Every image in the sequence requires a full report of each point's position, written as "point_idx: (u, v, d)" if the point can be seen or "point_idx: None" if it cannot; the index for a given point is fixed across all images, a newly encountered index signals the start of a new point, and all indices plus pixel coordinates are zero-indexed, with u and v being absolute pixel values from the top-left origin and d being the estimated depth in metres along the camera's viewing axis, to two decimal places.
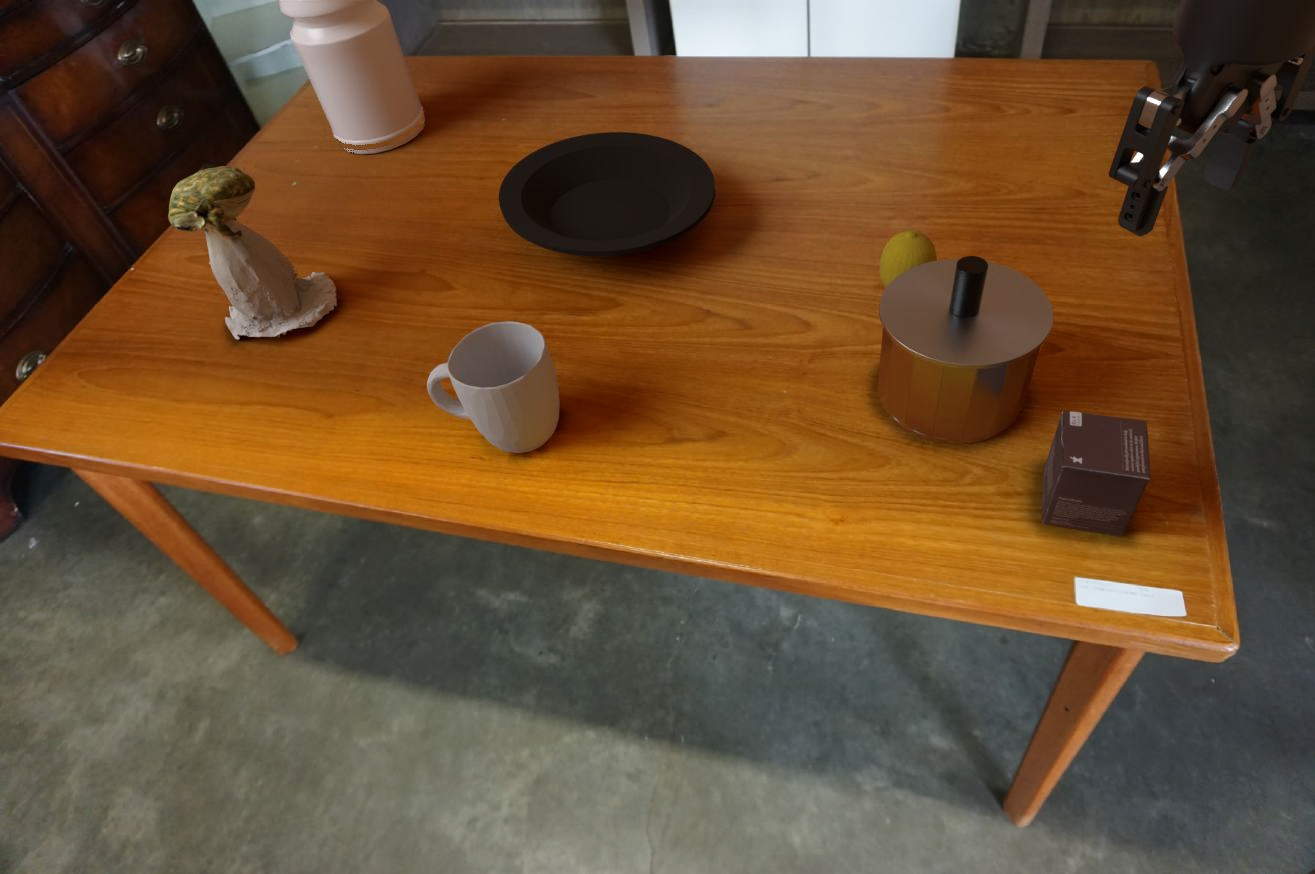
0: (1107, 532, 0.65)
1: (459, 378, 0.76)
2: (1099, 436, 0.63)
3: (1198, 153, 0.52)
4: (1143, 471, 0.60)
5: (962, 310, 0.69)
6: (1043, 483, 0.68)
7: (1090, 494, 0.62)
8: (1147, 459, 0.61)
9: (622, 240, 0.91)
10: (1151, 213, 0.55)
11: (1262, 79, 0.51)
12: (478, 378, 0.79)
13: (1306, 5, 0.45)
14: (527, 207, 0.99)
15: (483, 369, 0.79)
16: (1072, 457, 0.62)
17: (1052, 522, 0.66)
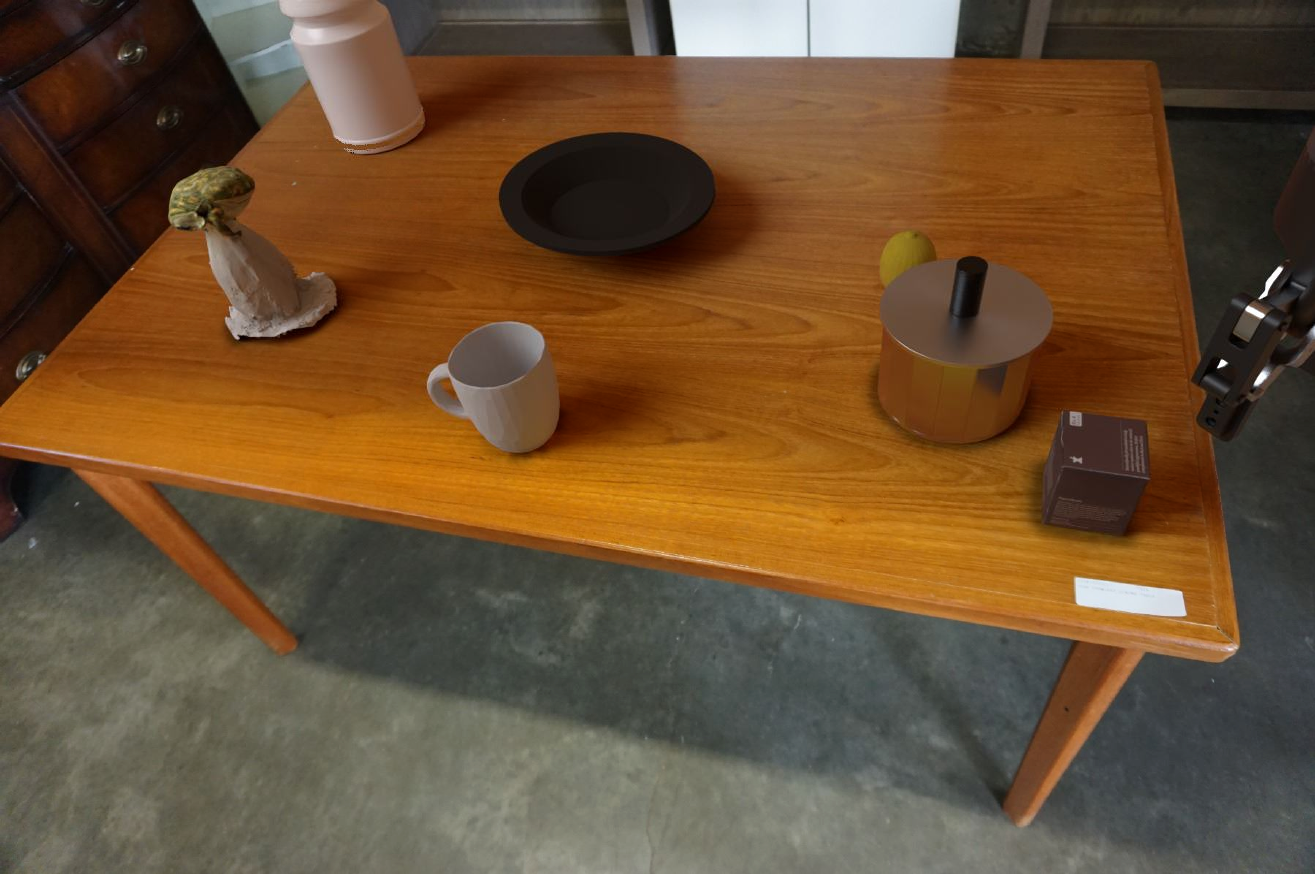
0: (1107, 532, 0.65)
1: (459, 378, 0.76)
2: (1098, 436, 0.63)
3: (1301, 362, 0.43)
4: (1143, 471, 0.60)
5: (962, 310, 0.69)
6: (1043, 483, 0.68)
7: (1090, 494, 0.62)
8: (1147, 459, 0.61)
9: (622, 240, 0.91)
10: (1239, 421, 0.46)
11: None
12: (478, 378, 0.79)
13: None
14: (527, 207, 0.99)
15: (483, 369, 0.79)
16: (1071, 457, 0.62)
17: (1052, 522, 0.66)
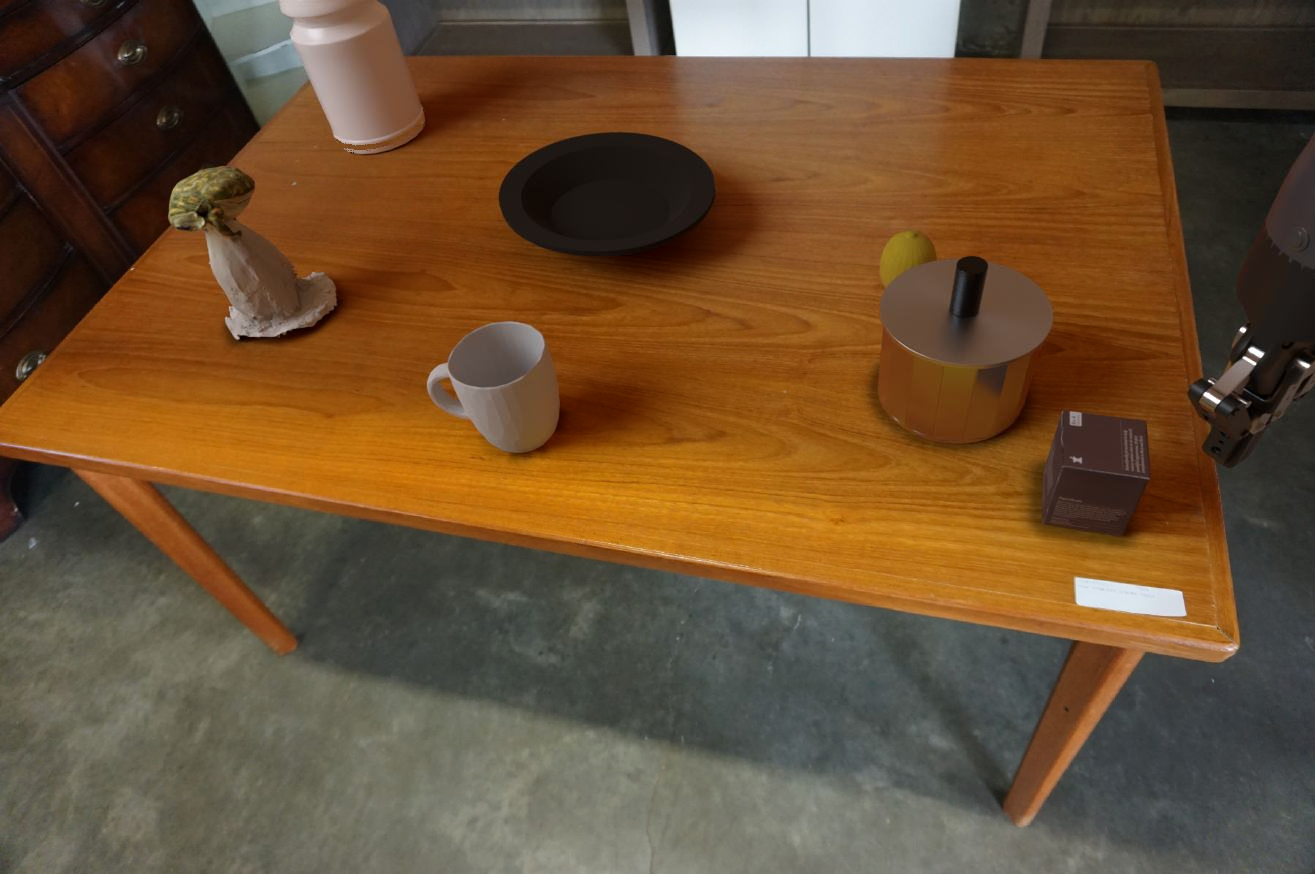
0: (1107, 532, 0.65)
1: (459, 378, 0.76)
2: (1098, 436, 0.63)
3: (1287, 403, 0.48)
4: (1143, 471, 0.60)
5: (962, 310, 0.69)
6: (1043, 483, 0.68)
7: (1090, 494, 0.62)
8: (1147, 459, 0.61)
9: (622, 240, 0.91)
10: (1242, 450, 0.52)
11: None
12: (478, 378, 0.79)
13: None
14: (527, 207, 0.99)
15: (483, 369, 0.79)
16: (1071, 457, 0.62)
17: (1052, 522, 0.66)
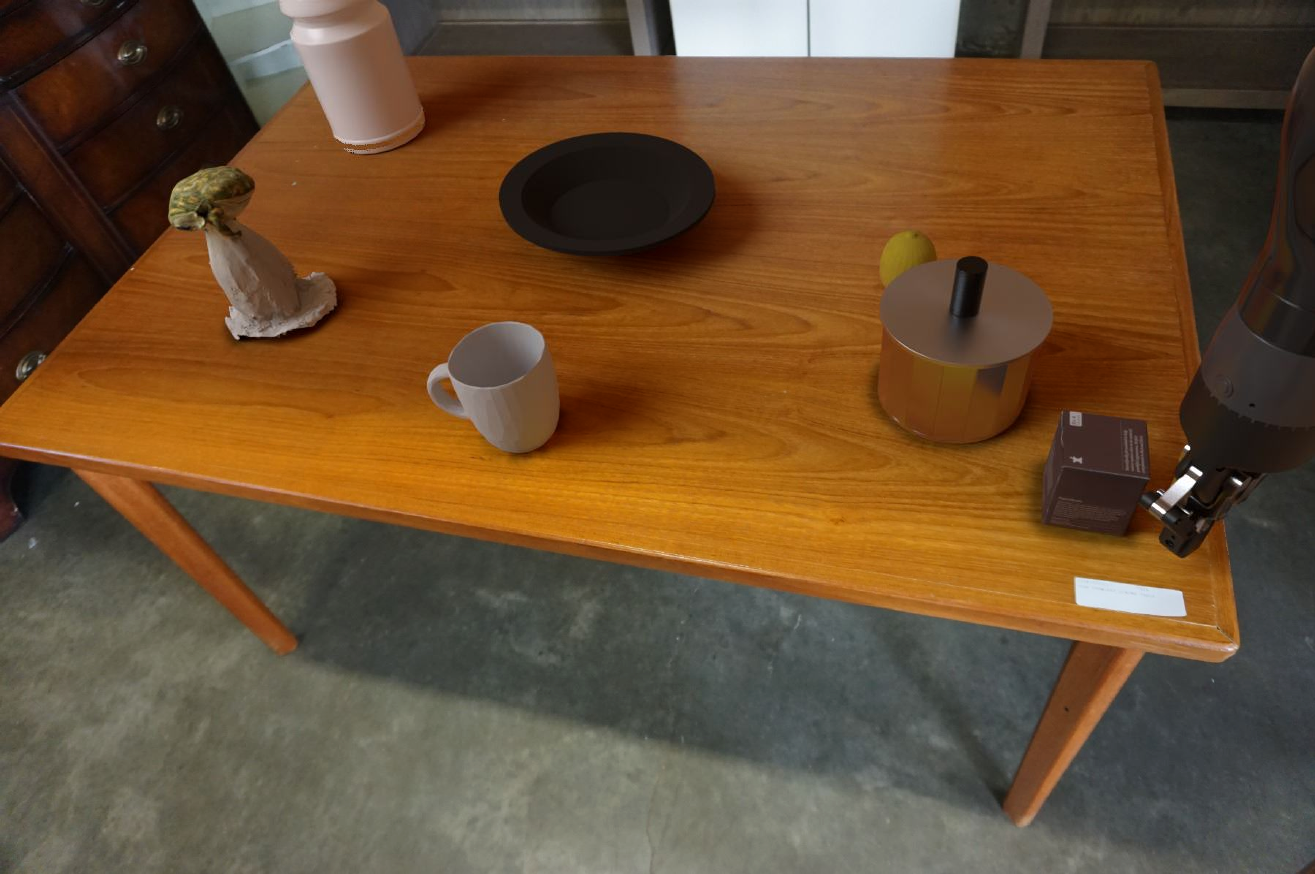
0: (1107, 532, 0.65)
1: (459, 378, 0.76)
2: (1098, 436, 0.63)
3: (1226, 510, 0.55)
4: (1143, 471, 0.60)
5: (962, 310, 0.69)
6: (1043, 483, 0.68)
7: (1090, 494, 0.62)
8: (1147, 459, 0.61)
9: (622, 240, 0.91)
10: (1191, 544, 0.59)
11: None
12: (478, 378, 0.79)
13: (1308, 438, 0.47)
14: (527, 207, 0.99)
15: (483, 369, 0.79)
16: (1071, 457, 0.62)
17: (1052, 522, 0.66)
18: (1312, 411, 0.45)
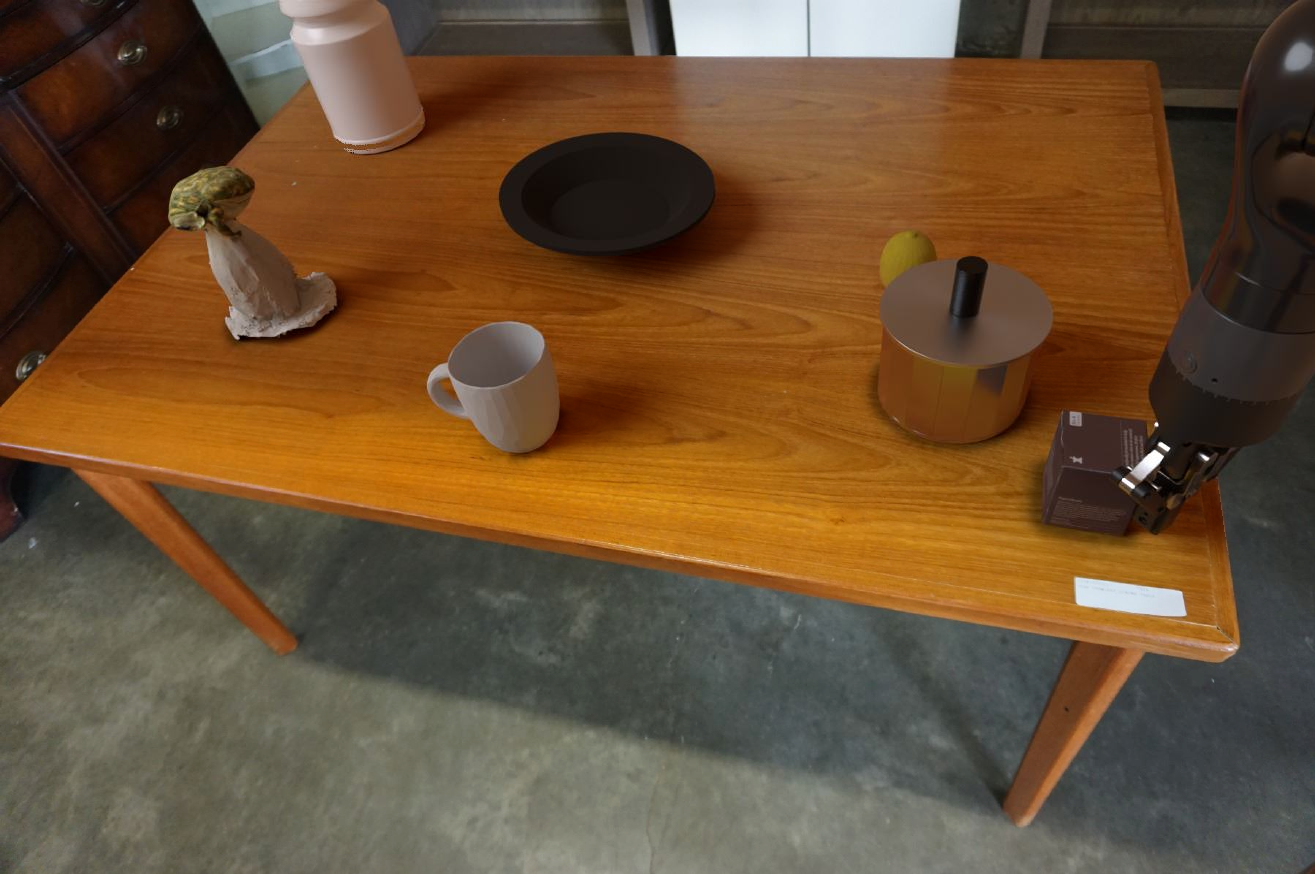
0: (1107, 532, 0.65)
1: (459, 378, 0.76)
2: (1098, 436, 0.63)
3: (1196, 486, 0.56)
4: None
5: (962, 310, 0.69)
6: (1043, 483, 0.68)
7: (1090, 494, 0.62)
8: None
9: (622, 240, 0.91)
10: (1163, 521, 0.60)
11: None
12: (478, 378, 0.79)
13: (1269, 412, 0.48)
14: (527, 207, 0.99)
15: (483, 369, 0.79)
16: (1071, 457, 0.62)
17: (1052, 522, 0.66)
18: (1272, 385, 0.47)
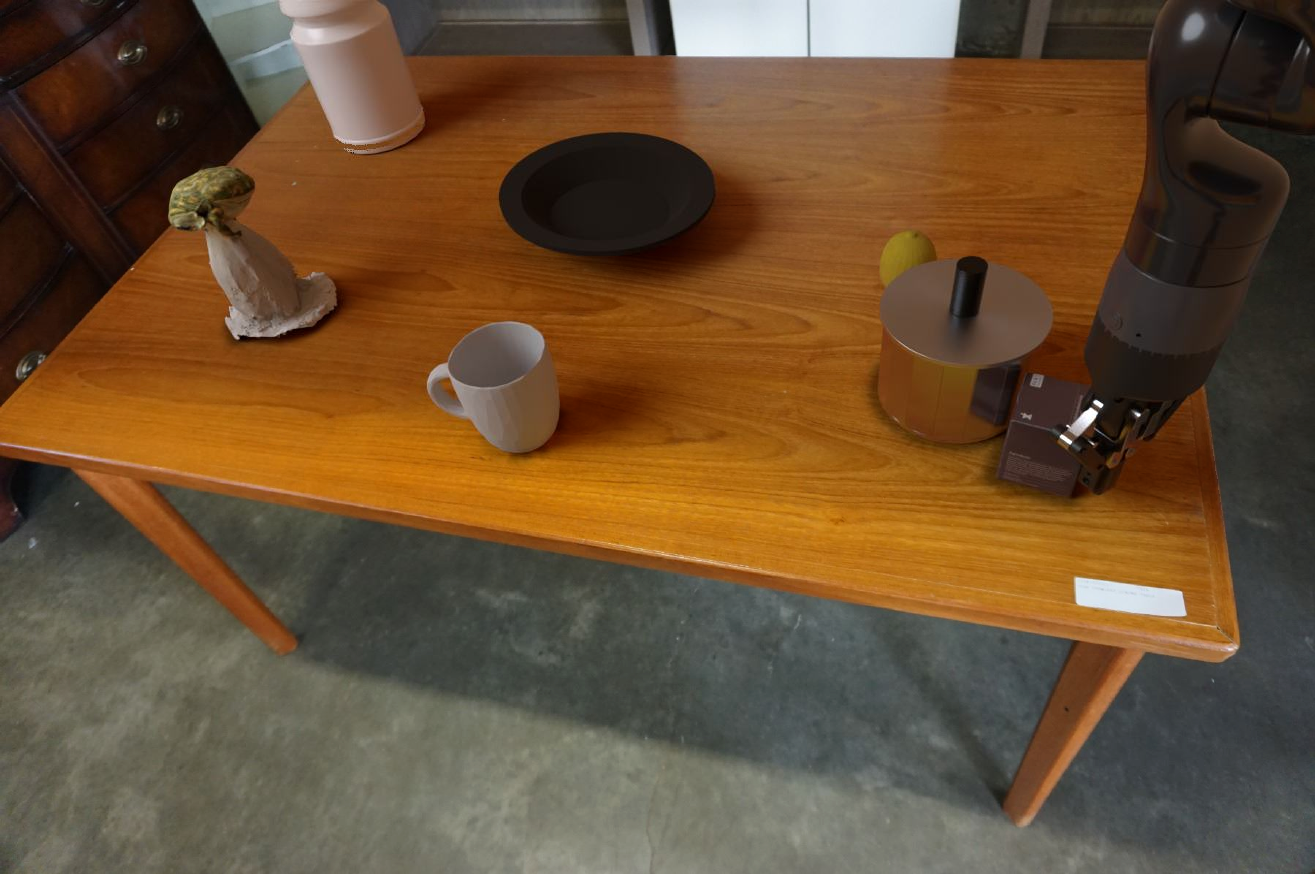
0: (1055, 492, 0.68)
1: (459, 378, 0.76)
2: (1054, 398, 0.66)
3: (1132, 444, 0.59)
4: None
5: (962, 310, 0.69)
6: None
7: (1037, 451, 0.66)
8: None
9: (622, 240, 0.91)
10: (1105, 481, 0.63)
11: None
12: (478, 378, 0.79)
13: (1190, 365, 0.51)
14: (527, 207, 0.99)
15: (483, 369, 0.79)
16: (1022, 413, 0.65)
17: (1005, 477, 0.69)
18: (1190, 338, 0.50)
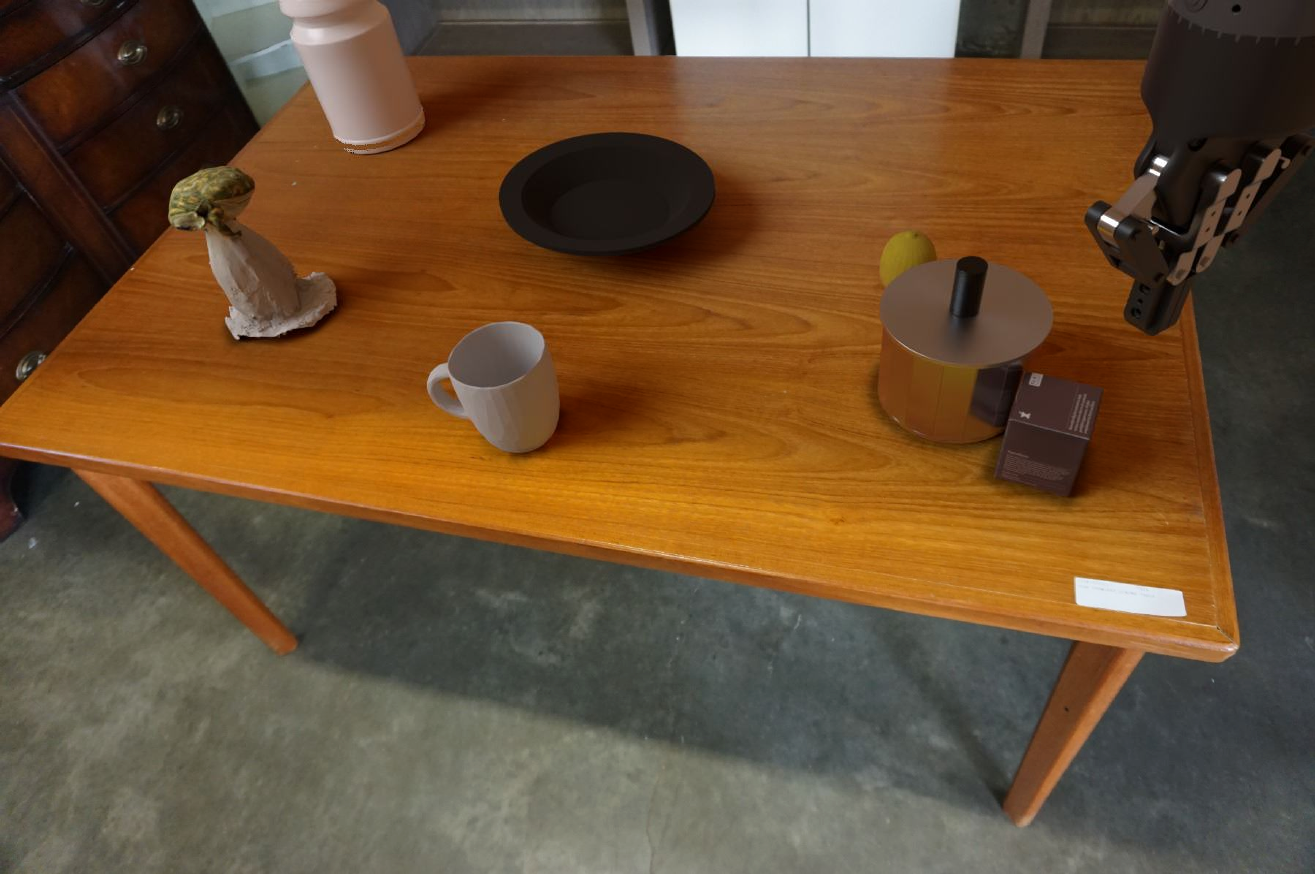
0: (1053, 491, 0.68)
1: (459, 378, 0.76)
2: (1052, 397, 0.66)
3: (1209, 239, 0.40)
4: (1085, 432, 0.63)
5: (962, 310, 0.69)
6: None
7: (1036, 450, 0.66)
8: (1092, 422, 0.64)
9: (622, 240, 0.91)
10: (1164, 310, 0.44)
11: (1262, 154, 0.37)
12: (478, 378, 0.79)
13: None
14: (527, 207, 0.99)
15: (483, 369, 0.79)
16: (1020, 412, 0.65)
17: (1003, 476, 0.69)
18: None
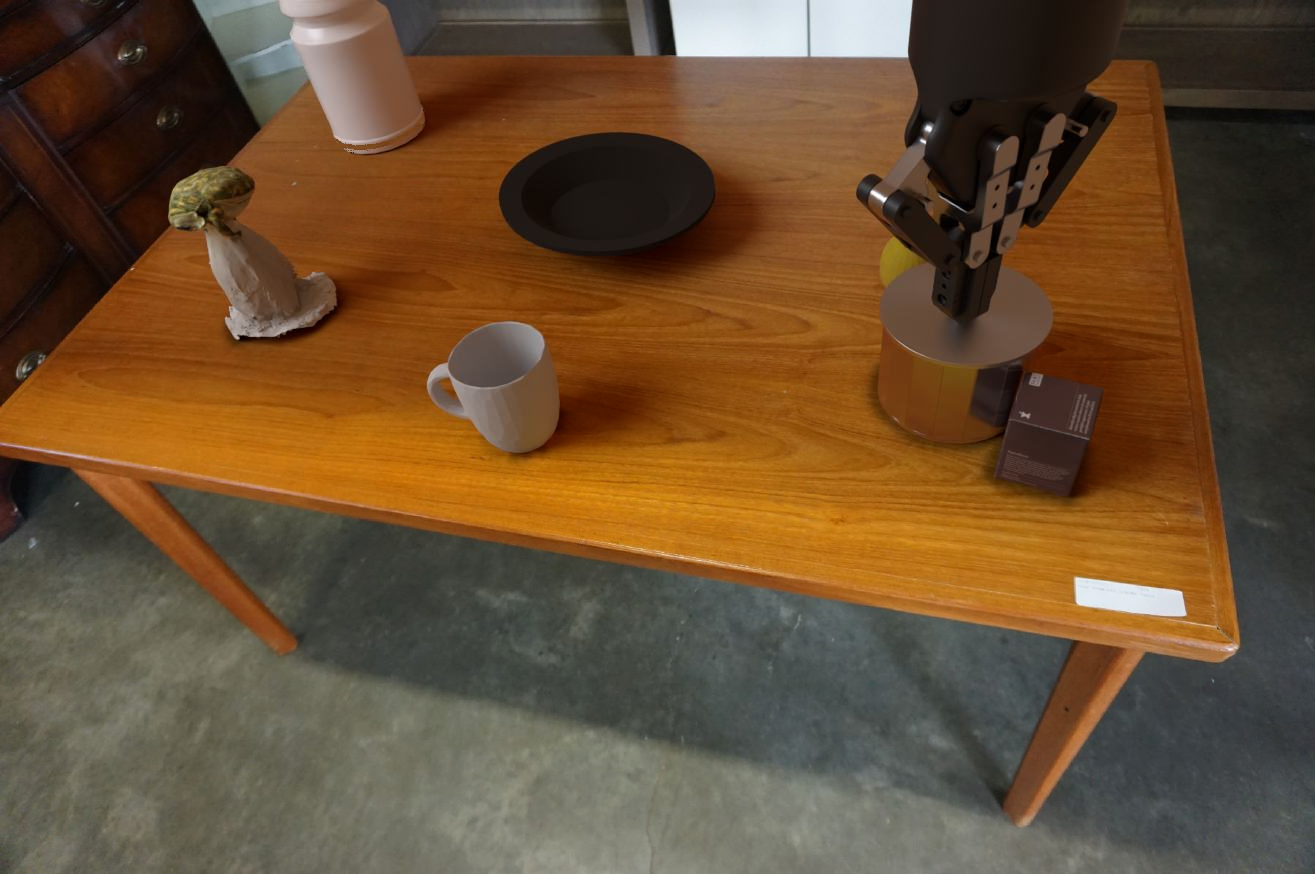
0: (1053, 491, 0.68)
1: (459, 378, 0.76)
2: (1053, 397, 0.66)
3: (999, 216, 0.36)
4: (1085, 432, 0.63)
5: None
6: None
7: (1036, 450, 0.66)
8: (1093, 422, 0.64)
9: (622, 240, 0.91)
10: (970, 296, 0.40)
11: (1044, 120, 0.33)
12: (478, 378, 0.79)
13: (1069, 7, 0.28)
14: (527, 207, 0.99)
15: (483, 369, 0.79)
16: (1020, 412, 0.65)
17: (1003, 476, 0.69)
18: None
